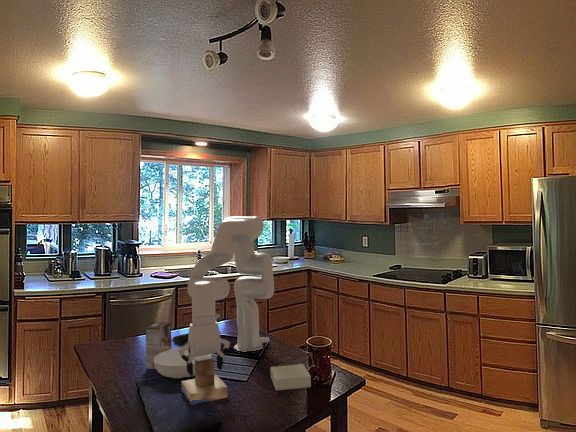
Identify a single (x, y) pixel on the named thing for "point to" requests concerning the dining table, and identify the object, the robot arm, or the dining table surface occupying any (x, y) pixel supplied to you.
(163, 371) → the serving bowl
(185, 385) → the maple riser block
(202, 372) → the walnut block
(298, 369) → the sage riser block
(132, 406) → the dining table surface
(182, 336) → the dark slate chunk
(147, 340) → the coffee box
